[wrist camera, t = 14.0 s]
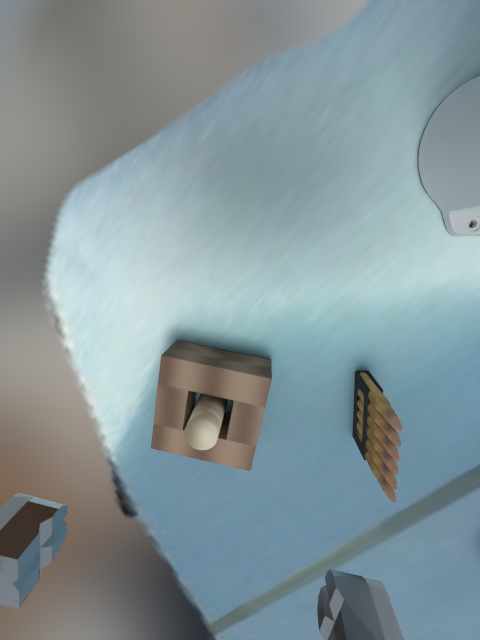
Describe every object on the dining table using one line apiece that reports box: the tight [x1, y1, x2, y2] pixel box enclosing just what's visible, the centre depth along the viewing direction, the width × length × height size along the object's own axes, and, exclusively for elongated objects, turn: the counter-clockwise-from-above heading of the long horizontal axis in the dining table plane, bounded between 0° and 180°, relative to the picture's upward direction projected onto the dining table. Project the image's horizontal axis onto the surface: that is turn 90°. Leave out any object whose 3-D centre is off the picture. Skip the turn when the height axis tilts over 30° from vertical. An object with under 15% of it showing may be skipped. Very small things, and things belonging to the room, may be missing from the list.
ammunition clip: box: [353, 371, 402, 503], centre depth 34 cm, size 11×2×12 cm, turn 4°
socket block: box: [151, 340, 272, 471], centre depth 39 cm, size 14×14×6 cm
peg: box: [184, 393, 228, 450], centre depth 37 cm, size 4×4×10 cm
